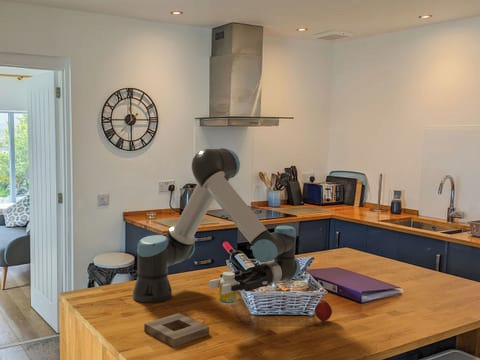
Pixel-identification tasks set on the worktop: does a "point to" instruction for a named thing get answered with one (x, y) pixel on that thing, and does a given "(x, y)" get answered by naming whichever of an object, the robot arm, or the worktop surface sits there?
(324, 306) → the onion
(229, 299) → the supplement bottle
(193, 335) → the socket block
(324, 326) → the worktop surface
